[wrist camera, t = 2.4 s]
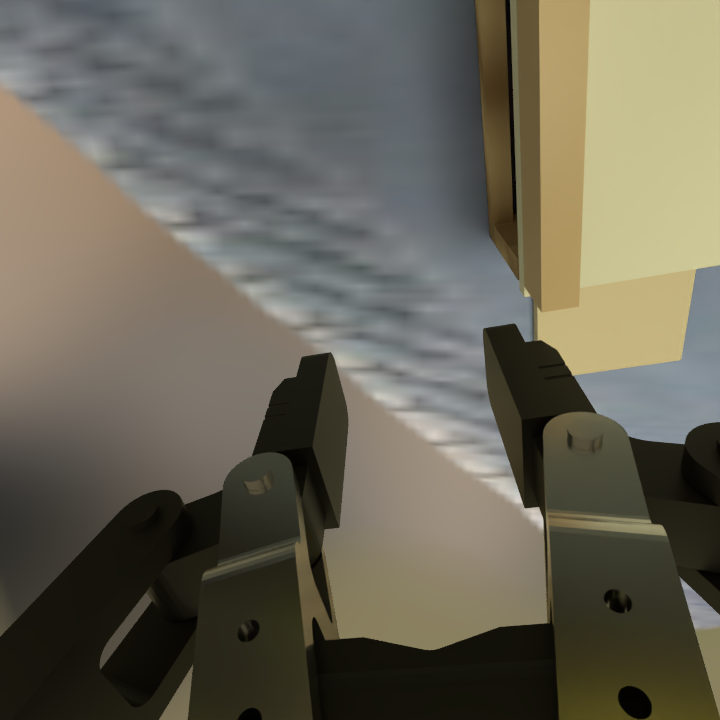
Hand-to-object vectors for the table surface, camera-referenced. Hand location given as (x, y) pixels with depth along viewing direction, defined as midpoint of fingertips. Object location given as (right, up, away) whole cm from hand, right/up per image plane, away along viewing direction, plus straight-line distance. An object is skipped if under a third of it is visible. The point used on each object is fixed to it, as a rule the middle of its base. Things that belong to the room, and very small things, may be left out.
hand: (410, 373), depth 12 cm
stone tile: (+16, +4, +22) cm, 27 cm away
